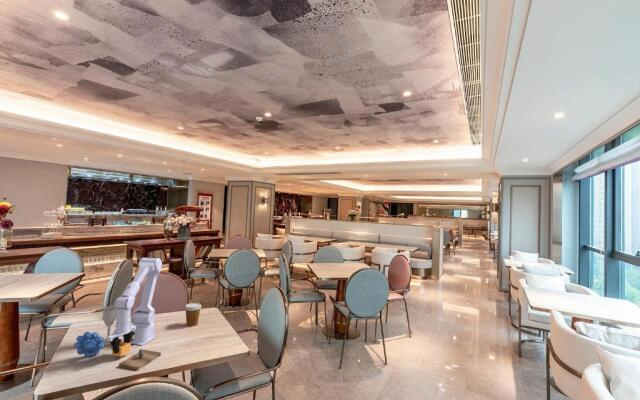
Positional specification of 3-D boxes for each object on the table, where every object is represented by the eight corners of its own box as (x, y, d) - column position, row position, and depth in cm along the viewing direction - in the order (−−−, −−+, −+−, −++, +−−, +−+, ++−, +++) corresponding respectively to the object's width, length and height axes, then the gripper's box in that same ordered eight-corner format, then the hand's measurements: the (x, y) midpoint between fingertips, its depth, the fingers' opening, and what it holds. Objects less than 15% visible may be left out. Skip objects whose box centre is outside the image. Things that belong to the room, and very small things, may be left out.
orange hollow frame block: (121, 350, 146) (121, 341, 146) (130, 351, 145) (130, 343, 145) (111, 355, 141) (112, 346, 141) (121, 356, 140) (121, 348, 140)
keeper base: (143, 352, 147) (143, 341, 147) (160, 355, 145) (161, 344, 145) (118, 367, 134) (119, 354, 134) (137, 370, 132) (138, 358, 132)
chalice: (107, 346, 152) (109, 311, 152) (96, 344, 153) (98, 309, 154) (119, 340, 159) (121, 306, 160) (108, 338, 160) (111, 305, 161)
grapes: (71, 364, 134) (73, 337, 135) (73, 357, 140) (75, 331, 140) (103, 357, 141) (105, 332, 141) (103, 351, 147) (105, 327, 147)
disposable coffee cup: (184, 322, 187) (185, 303, 188) (201, 321, 190) (202, 302, 191) (182, 328, 178) (183, 308, 179) (199, 327, 181) (200, 307, 182)
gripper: (128, 315, 151) (126, 342, 151) (102, 326, 137) (100, 356, 137) (140, 317, 150) (138, 344, 149) (115, 328, 136) (113, 358, 135)
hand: (121, 350), depth 143 cm, fingers closed on orange hollow frame block, 5 cm apart
